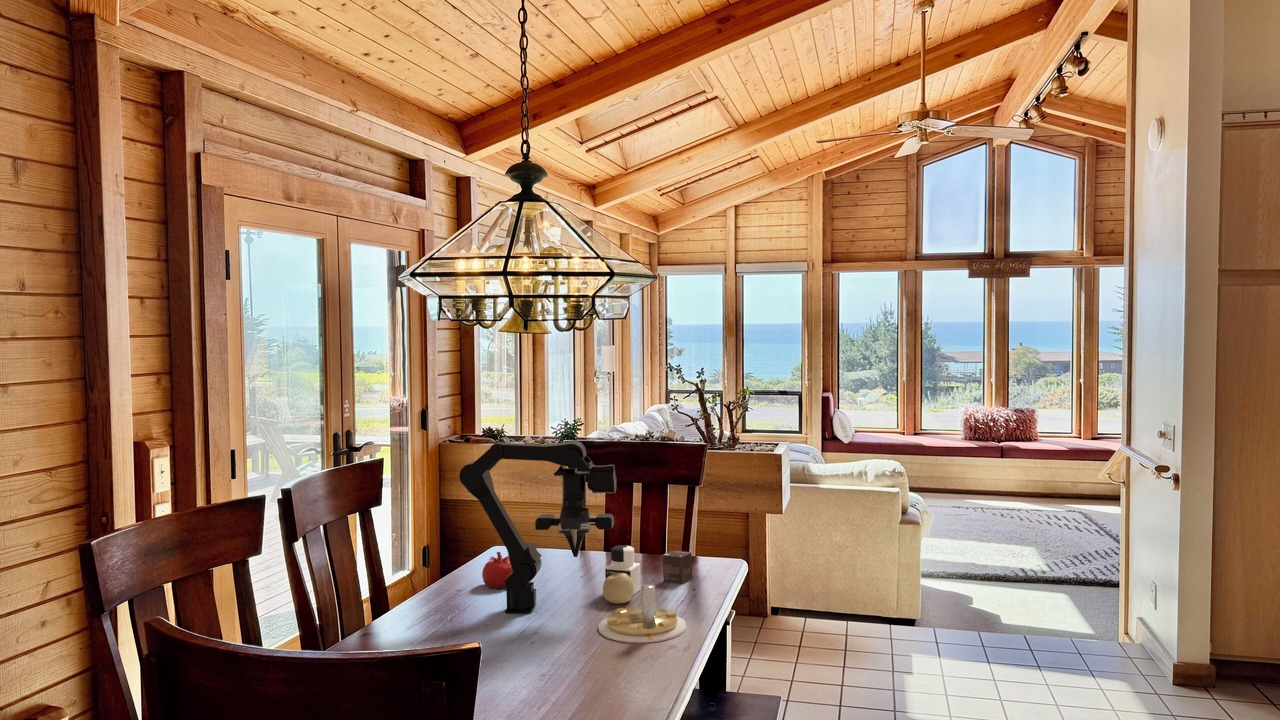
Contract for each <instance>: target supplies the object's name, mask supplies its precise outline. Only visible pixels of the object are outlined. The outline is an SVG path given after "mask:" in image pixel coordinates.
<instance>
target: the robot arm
mask: <svg viewBox="0 0 1280 720" xmlns="http://www.w3.org/2000/svg"><path fill="white" fill-rule="evenodd" d="M501 460H515V461H516V460H518V461H519V460H520V461H521V460H522V461H540V462H549V463H551V464H555V465H559V466H558V468H557V470H556V471H554V473H553V476H555V477H561V478H562V479H561V480H562V489H561V491H562V506H561V510H560V514H559V517H556V515H555V514H554V513H552V514H551V513H548V514H544V513H543V514H540V515H538V517H537V518H536V519H535V524H534V525H535V527H534V528H535V530H537V531H547V530H549V529H550V528H551V527H554V526H558V527H559V530H558V532H559V534H563V536H564V537H565V538H566V540H567V542H568V544H569V547H570V550H571V553H572V555H573V558H578V555H579V553H580V549H581V546H582V543H583V540H584V537H585V535H586V534H588V533H590V531H591V529H592V526H595V527H596V528H597V529H598V530H603V531H604V530H612V529H613V527H614V525H615V516H614V515H613V514H612V513H597V515H596V517H591V515H590V510H589V507H587V489H588V490H589V491H591V492H592V494H616V491H617V476H616V470H615V469H616V468H615V464H607V465H595V464H594V462H593V461H592V460H591V458H590V457H589V456H588V454H587V450H586V446H585V445H584V444H583V443H582V442H580V441H577V440H573V441H563V442H558V443H554V444H551V443H550V444H539V443H538V444H537V443H513V442H511V443H510V442H503V441H497V442H495V443H494V444H492V445H491V446H490V447H489V448H488V449H487V450H486V451H485V452H484V453H483V454H482V455H481V456H479V457H478V458H477V459H476V460H474V461H471V462H469V463H467V464H465V465H463V467H462V468H461V469H460V471H459V475H458V478H459V481H460V483H461V484H462V486H463V487H464V488H465V489H466V490H467V492H468V493H469V494H471V495H472V496H473V497H474V498H475V499H477V500H478V501H479V503H480V506H481V507H482V508H483V510H484V512H485V513H486V515H487V517H488V519H489V520H490V522H491V523H492V526H493V528H494V529H495V531H496V533H497V535H498V536H499V539H501V542H502V544H503V545H504V548H505V549H506V550H507V555H508V556H509V561H510V565H511V567H512V570H513V571H512V573H511V574H510V575H509V576H508V577H507V579H506V580H505V581H504V582H505V585H506V587H505V589H506V590H505V591H506V608H505V610H504V613H505V614H507V613H509V614H510V613H511V614H513V613H515V614H521V613H522V614H531V613H532V612H533V611H534V609H535V608H536V606H537V589H536V588H535V584H534V583H535V582H533V580H534V578H536V576H537V574H538V573H539V572H540V570H541V568H542V558H541V557H542V554H541V553H540V552H539V551H538V549H537V547H536V545H535V542H534V541H532V542H531V543H527V542H526V541H524V540H523V539H524V538H522V536H521V535H520V532H519V531H518V529H517V527H516V526H515V524H514V522H513V521H512V519H511V517H510V515H509V513H508V512H507V510H506V508H505V507H504V505H503V503H502V502H501V500H500V498H499V496H498V494H497V493H496V490H495V487H494V483H493V477H492V475H491V472H490V471H491V470H492V469H493V468H494V467H495V466H496V465H497V464H498V463H499V462H500V461H501ZM578 470H579V471H578ZM586 476H587V477H586ZM586 478H587V479H586ZM586 484H587V486H586ZM586 488H587V489H586ZM575 531H576V532H575ZM575 534H576V535H575Z"/></svg>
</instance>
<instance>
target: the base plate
mask: <svg viewBox="0 0 1280 720" xmlns="http://www.w3.org/2000/svg"><path fill="white" fill-rule="evenodd" d="M676 616H677V615H676ZM607 618H608V617H605V618H603V620H601V621H600V622H599V624H598V633H600V634H601V636H603V637H605V638H607V639H609V640H613V641H617V642H621V643H631V644H648V643H657V642H664V641H668V640H671V639H674V638H676V637H679V636H680V635H682V634H684V633H685V631H686V629H687V623H686V621H685V620H684V619H683V618H682V617H679V616H677V626H676V627H675V628H674V629H672V630H670V631H668V632H665V633H661V634H655V635H645V636H635V635H625V634H620V633H617V632H614V631H612V630H610V629H609V628H608V626H607Z"/></svg>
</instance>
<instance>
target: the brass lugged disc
mask: <svg viewBox="0 0 1280 720" xmlns="http://www.w3.org/2000/svg"><path fill="white" fill-rule="evenodd" d="M606 618H607V626H608V628H609V629H610V630H612V631H614V632H617V633H620V634H625V635H635V636H645V635H655V634H661V633H665V632H668V631H670V630H672V629H674V628H675V627H676V626H677V613H676V611H675V610H668V609H664V608H660V607H659V608H658V607H656V585H655V584H643V585H641V606H640V607H631V608H624V607H619V608H616V609H615V610H614V612H613V613H611V614H609V615H608V616H607V617H606Z"/></svg>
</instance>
